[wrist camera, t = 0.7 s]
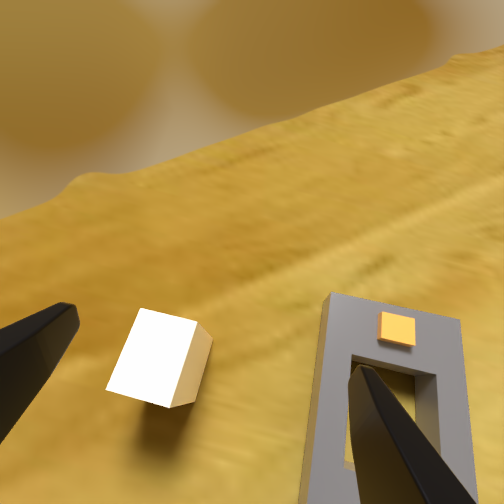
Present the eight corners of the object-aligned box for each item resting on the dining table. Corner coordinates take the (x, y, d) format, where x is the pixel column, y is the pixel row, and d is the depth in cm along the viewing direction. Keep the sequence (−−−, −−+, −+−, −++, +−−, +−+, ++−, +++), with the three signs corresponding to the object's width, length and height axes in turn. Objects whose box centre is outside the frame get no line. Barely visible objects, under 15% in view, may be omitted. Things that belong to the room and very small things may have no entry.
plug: (194, 401, 22) (169, 408, 15) (148, 388, 22) (105, 389, 16) (213, 338, 24) (197, 321, 18) (170, 328, 24) (140, 307, 18)
